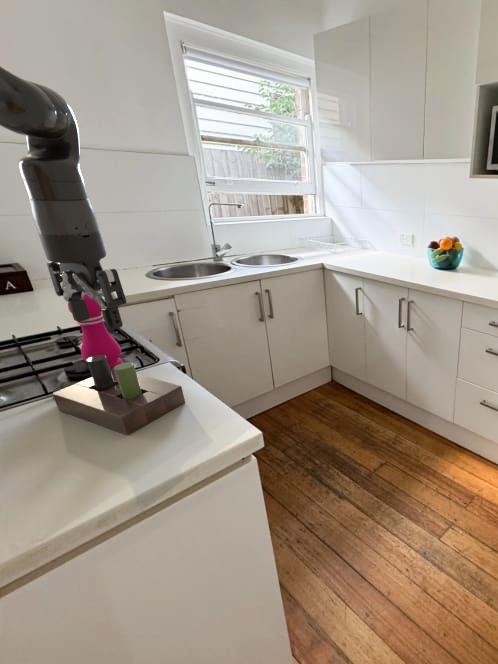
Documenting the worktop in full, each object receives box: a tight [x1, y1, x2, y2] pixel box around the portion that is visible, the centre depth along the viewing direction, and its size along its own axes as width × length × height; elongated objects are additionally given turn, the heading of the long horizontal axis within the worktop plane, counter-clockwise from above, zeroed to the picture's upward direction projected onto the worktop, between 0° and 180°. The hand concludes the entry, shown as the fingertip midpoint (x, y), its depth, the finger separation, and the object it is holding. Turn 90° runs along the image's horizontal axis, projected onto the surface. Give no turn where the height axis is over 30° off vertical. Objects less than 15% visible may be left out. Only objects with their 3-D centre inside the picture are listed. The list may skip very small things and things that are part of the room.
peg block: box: [51, 368, 186, 436], centre depth 75 cm, size 12×20×4 cm, turn 69°
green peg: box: [114, 362, 142, 401], centre depth 73 cm, size 3×3×10 cm
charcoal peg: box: [85, 355, 116, 392], centre depth 75 cm, size 3×3×10 cm
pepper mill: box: [67, 293, 123, 369], centre depth 86 cm, size 7×7×20 cm
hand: (98, 324), depth 67 cm, fingers open, 8 cm apart
